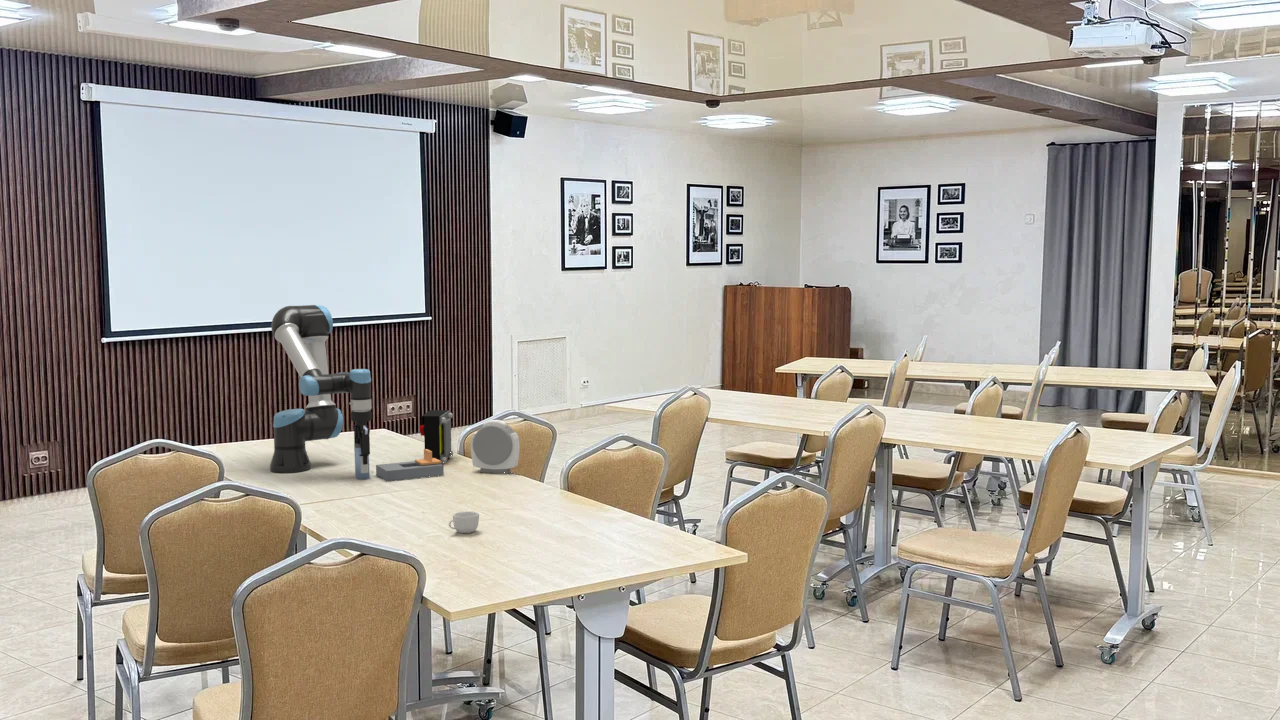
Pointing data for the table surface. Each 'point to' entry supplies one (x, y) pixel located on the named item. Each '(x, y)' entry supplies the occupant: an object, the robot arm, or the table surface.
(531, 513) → the table surface
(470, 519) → the teacup
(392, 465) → the socket block
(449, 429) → the electrical component
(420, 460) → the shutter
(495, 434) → the alarm clock
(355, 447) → the blue canister
